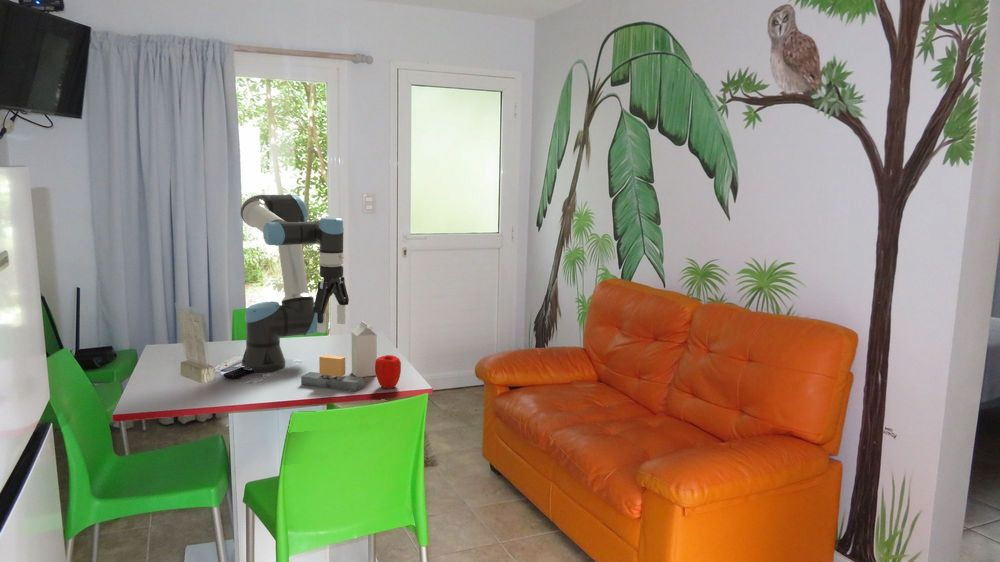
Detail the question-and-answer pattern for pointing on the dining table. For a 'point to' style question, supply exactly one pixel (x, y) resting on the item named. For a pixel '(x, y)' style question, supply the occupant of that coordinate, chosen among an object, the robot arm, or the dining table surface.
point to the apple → (388, 370)
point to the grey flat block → (332, 381)
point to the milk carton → (364, 350)
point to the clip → (332, 366)
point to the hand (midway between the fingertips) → (331, 328)
